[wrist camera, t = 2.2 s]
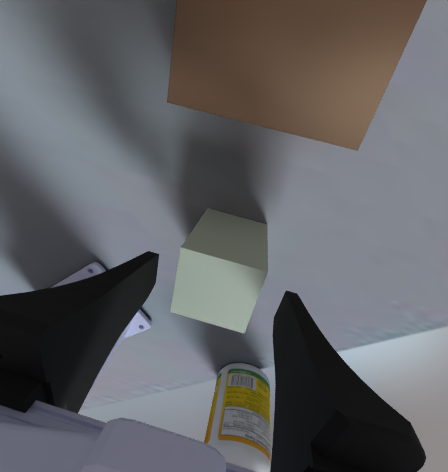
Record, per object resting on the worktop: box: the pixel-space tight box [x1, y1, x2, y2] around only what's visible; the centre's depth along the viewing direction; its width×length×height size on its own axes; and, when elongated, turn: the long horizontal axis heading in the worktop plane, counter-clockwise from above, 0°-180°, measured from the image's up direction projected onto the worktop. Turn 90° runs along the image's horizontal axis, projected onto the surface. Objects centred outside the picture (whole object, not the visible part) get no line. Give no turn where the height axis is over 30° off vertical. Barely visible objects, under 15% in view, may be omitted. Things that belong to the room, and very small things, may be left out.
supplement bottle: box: [204, 363, 270, 472], centre depth 20 cm, size 5×5×10 cm
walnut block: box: [167, 0, 427, 151], centre depth 11 cm, size 9×9×4 cm
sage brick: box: [170, 208, 268, 333], centre depth 15 cm, size 4×4×6 cm
